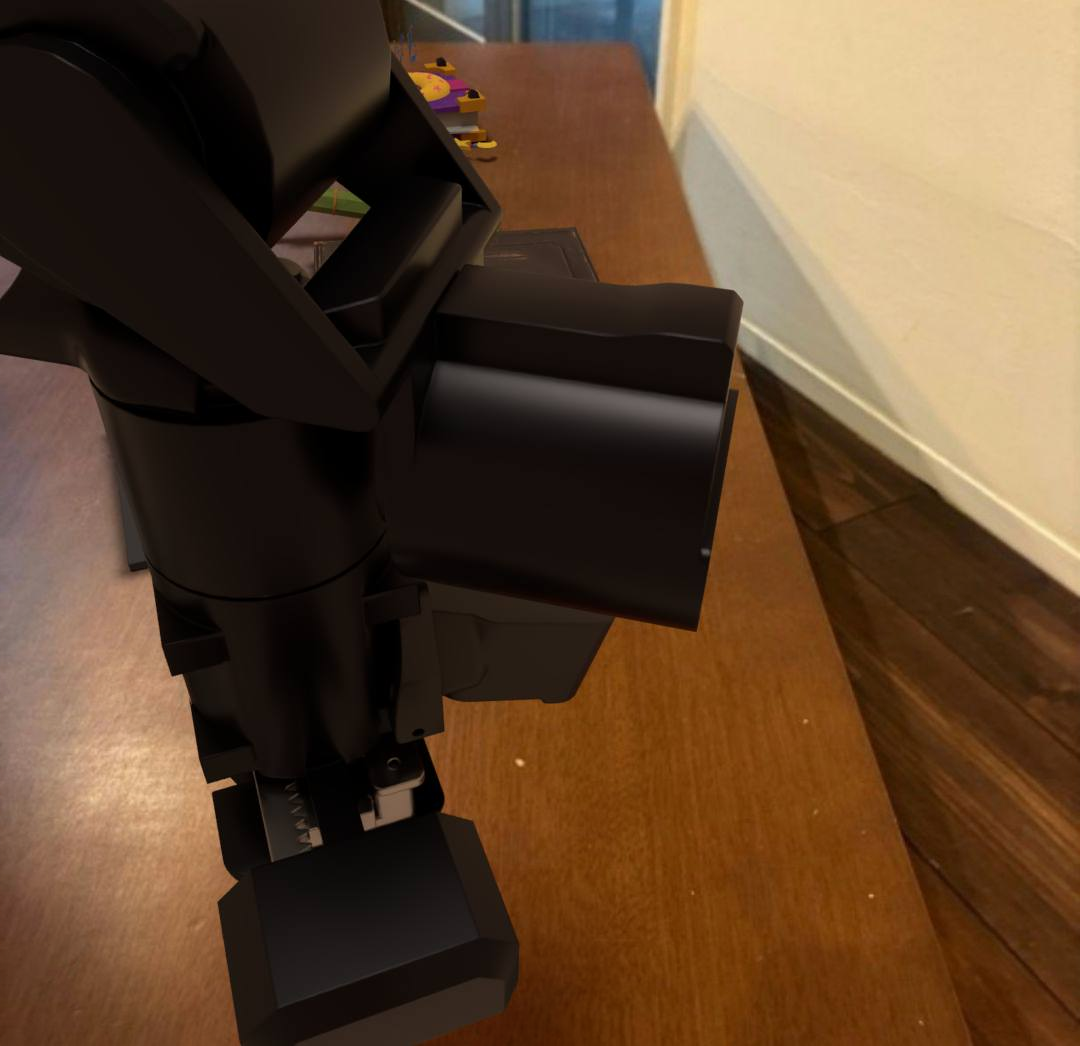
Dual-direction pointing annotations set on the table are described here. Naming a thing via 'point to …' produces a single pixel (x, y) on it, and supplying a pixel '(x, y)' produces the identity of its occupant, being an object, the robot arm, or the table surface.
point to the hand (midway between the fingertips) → (339, 867)
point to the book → (450, 100)
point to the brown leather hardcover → (520, 252)
